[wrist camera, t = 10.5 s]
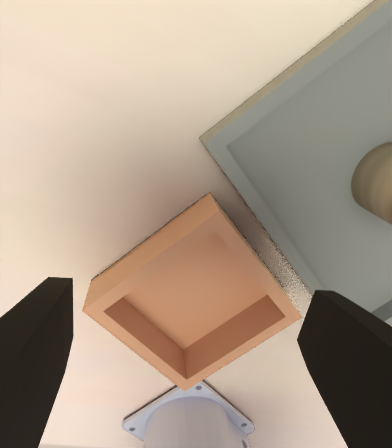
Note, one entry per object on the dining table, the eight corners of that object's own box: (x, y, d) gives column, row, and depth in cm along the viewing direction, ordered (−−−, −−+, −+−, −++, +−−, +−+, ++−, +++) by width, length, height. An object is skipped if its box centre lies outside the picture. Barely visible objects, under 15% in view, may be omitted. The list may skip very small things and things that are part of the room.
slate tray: (495, 236, 23) (521, 247, 22) (338, 331, 25) (351, 349, 24) (419, -35, 15) (451, -49, 14) (199, 137, 17) (203, 143, 16)
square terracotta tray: (283, 289, 23) (302, 317, 20) (180, 356, 24) (184, 391, 21) (209, 192, 19) (219, 211, 16) (91, 280, 20) (82, 310, 17)
